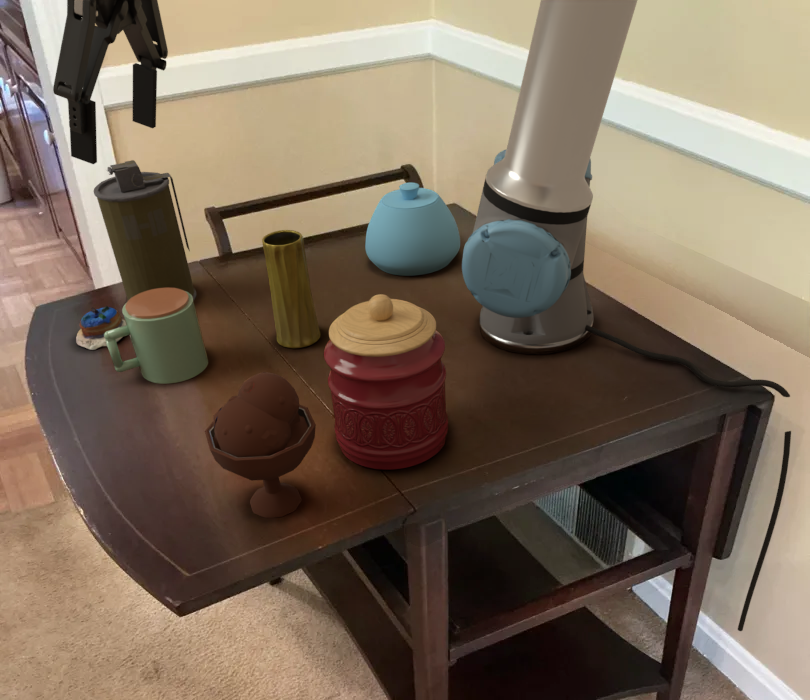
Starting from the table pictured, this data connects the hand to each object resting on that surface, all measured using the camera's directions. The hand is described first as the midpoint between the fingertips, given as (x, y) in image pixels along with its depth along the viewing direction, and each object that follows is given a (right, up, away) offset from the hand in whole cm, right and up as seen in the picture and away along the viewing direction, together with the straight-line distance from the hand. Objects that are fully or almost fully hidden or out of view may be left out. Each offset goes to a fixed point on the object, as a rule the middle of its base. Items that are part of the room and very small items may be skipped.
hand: (115, 141), depth 99 cm
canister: (-3, -10, +31) cm, 32 cm away
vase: (+19, -19, +18) cm, 33 cm away
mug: (+2, -24, +14) cm, 28 cm away
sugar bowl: (+35, -2, +36) cm, 50 cm away
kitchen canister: (+33, -35, -1) cm, 48 cm away
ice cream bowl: (+20, -43, -9) cm, 48 cm away
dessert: (-10, -18, +23) cm, 30 cm away
